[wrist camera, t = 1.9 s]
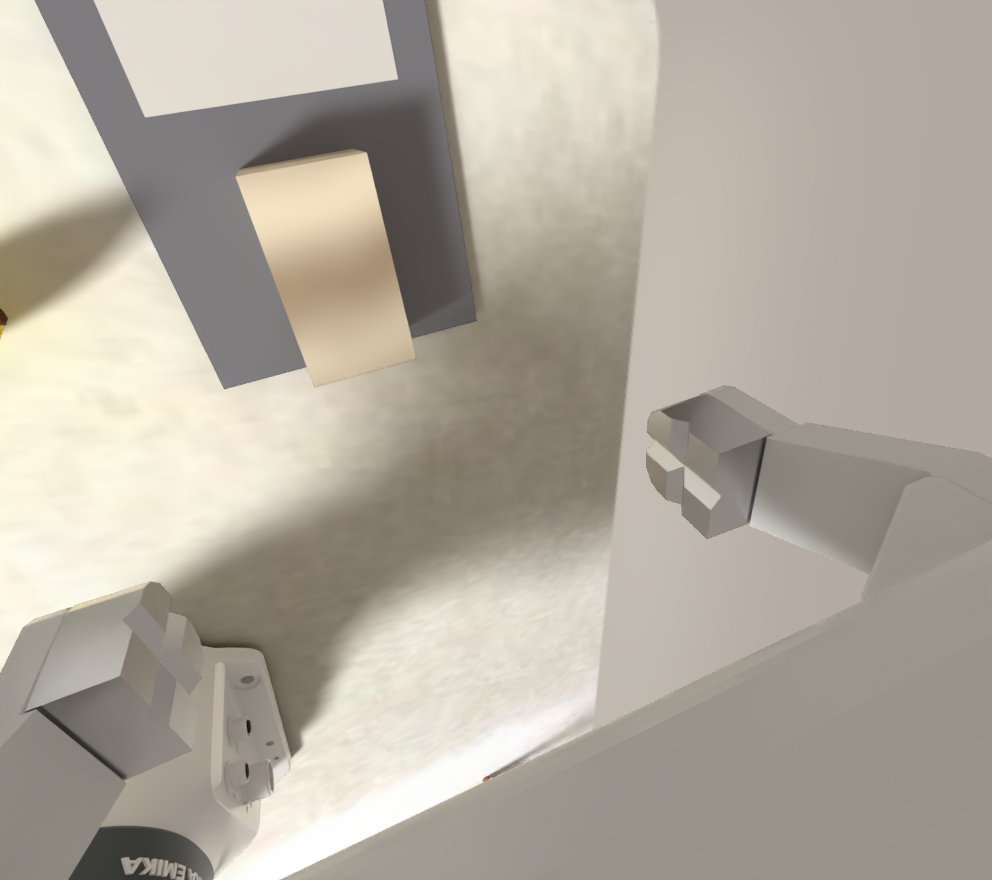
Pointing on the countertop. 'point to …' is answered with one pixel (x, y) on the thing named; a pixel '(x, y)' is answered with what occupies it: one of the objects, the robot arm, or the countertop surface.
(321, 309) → the block
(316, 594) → the countertop surface
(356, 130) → the mat
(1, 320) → the banana
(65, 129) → the countertop surface
